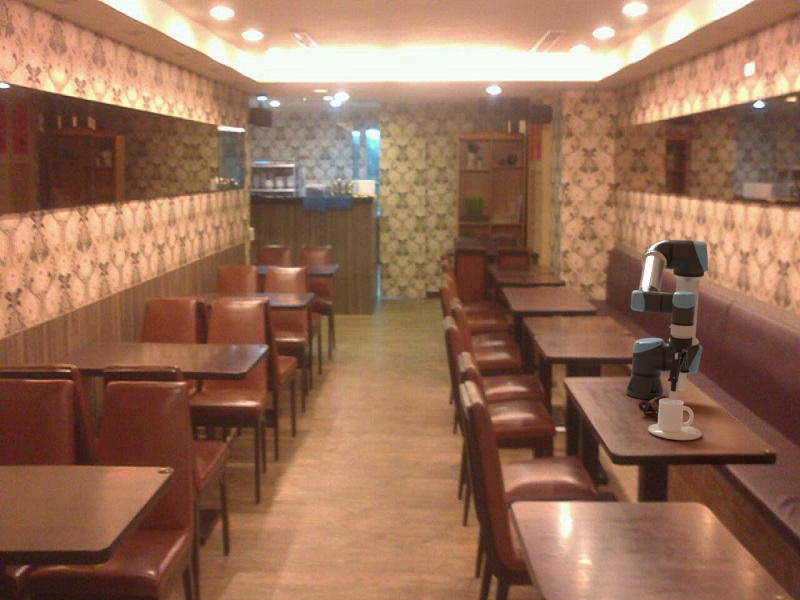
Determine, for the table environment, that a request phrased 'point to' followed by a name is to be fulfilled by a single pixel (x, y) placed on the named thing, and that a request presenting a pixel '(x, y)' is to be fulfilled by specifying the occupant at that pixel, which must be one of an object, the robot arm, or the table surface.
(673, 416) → the mug
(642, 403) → the brown twisted loop piece
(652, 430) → the serving plate
